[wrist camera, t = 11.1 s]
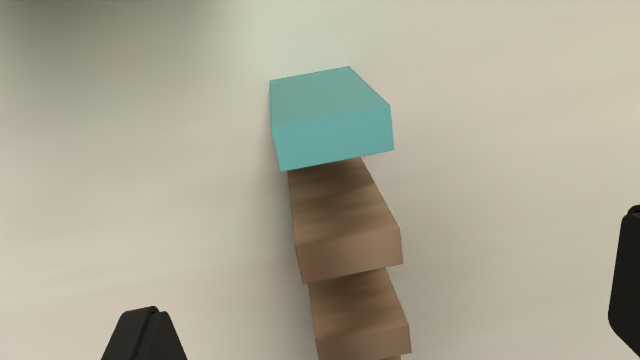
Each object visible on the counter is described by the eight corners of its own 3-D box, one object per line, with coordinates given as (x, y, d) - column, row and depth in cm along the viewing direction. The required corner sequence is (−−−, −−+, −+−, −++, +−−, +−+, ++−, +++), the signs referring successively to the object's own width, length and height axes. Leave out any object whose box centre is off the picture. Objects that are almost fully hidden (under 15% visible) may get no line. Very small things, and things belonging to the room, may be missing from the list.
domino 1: (348, 66, 27) (390, 105, 18) (352, 97, 28) (394, 150, 19) (270, 80, 27) (270, 127, 18) (276, 111, 27) (280, 171, 18)
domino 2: (359, 154, 29) (399, 229, 20) (362, 180, 30) (403, 263, 21) (287, 168, 29) (295, 249, 20) (292, 194, 30) (302, 283, 21)
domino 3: (368, 229, 32) (408, 325, 23) (371, 251, 33) (411, 352, 24) (302, 242, 32) (316, 344, 23) (307, 264, 32) (322, 371, 23)
